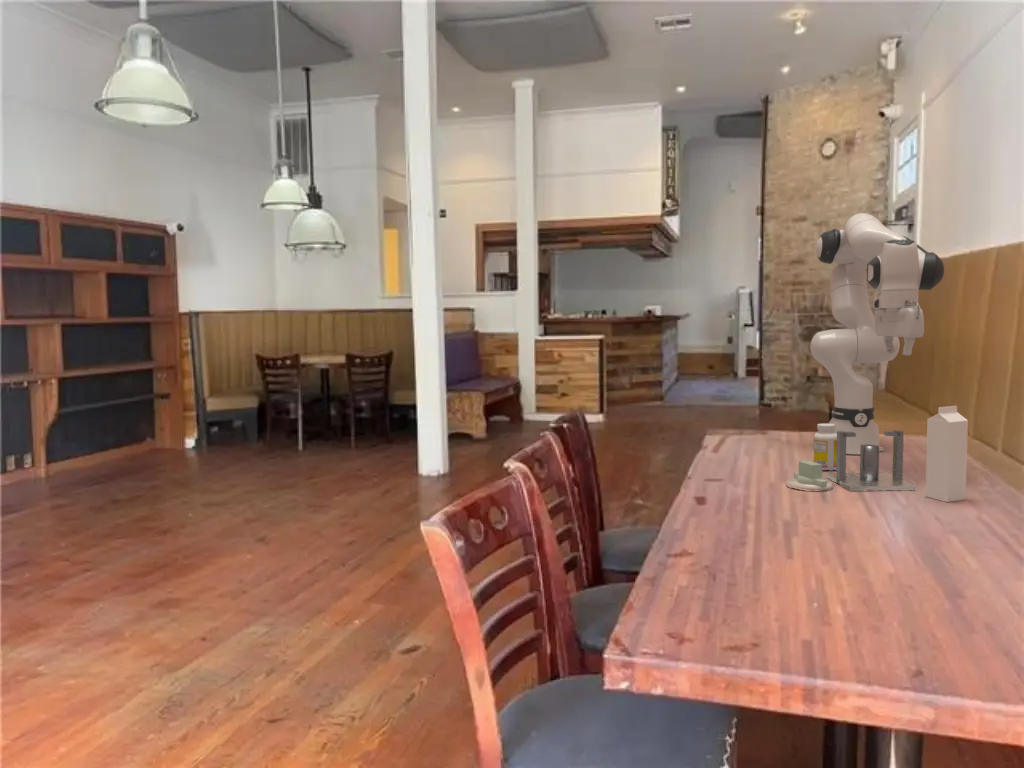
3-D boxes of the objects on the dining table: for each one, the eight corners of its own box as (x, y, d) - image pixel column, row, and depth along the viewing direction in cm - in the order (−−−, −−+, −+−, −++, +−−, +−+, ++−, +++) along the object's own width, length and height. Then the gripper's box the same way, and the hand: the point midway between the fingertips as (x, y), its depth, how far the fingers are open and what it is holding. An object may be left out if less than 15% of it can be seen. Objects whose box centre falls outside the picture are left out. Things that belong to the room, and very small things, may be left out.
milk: (925, 497, 179) (926, 405, 177) (943, 494, 181) (945, 404, 180) (948, 502, 174) (949, 408, 172) (966, 499, 176) (968, 406, 174)
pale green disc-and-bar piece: (806, 476, 199) (806, 458, 198) (834, 485, 188) (834, 466, 187) (786, 478, 197) (786, 459, 197) (813, 487, 186) (813, 468, 186)
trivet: (780, 482, 198) (780, 477, 198) (823, 481, 198) (823, 477, 198) (794, 491, 187) (794, 487, 187) (839, 491, 187) (839, 486, 187)
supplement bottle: (834, 466, 216) (834, 422, 215) (842, 471, 209) (842, 426, 208) (810, 466, 217) (810, 423, 216) (817, 471, 210) (817, 426, 209)
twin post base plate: (826, 477, 202) (826, 427, 201) (886, 476, 202) (887, 425, 200) (850, 491, 186) (851, 436, 185) (915, 490, 186) (917, 435, 184)
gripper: (931, 300, 186) (930, 355, 187) (893, 301, 206) (892, 351, 207) (906, 301, 186) (904, 356, 187) (870, 302, 206) (869, 352, 208)
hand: (898, 354), depth 197 cm, fingers open, 8 cm apart
